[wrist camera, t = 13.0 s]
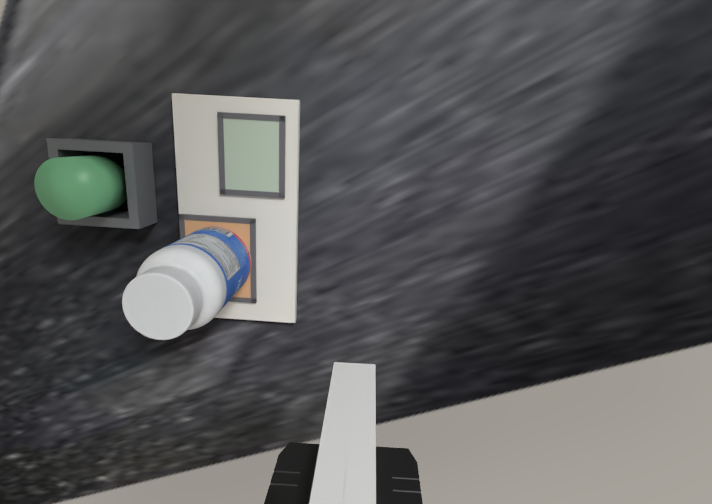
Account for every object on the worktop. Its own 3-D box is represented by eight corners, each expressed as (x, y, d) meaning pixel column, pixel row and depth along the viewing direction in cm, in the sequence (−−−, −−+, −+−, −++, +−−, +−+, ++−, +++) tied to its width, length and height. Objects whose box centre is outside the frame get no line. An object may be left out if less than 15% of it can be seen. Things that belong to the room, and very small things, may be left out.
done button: (70, 153, 29) (29, 155, 26) (125, 156, 29) (92, 159, 26) (77, 209, 30) (39, 218, 27) (130, 212, 30) (99, 222, 27)
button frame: (72, 137, 31) (45, 138, 28) (151, 142, 31) (132, 143, 28) (82, 217, 33) (57, 223, 30) (157, 222, 32) (139, 229, 30)
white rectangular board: (175, 93, 30) (170, 92, 29) (300, 100, 30) (297, 99, 29) (188, 312, 34) (183, 316, 34) (296, 320, 34) (294, 324, 33)
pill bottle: (215, 304, 33) (152, 370, 24) (170, 251, 32) (85, 298, 23) (268, 266, 32) (224, 319, 23) (223, 210, 31) (157, 241, 22)
